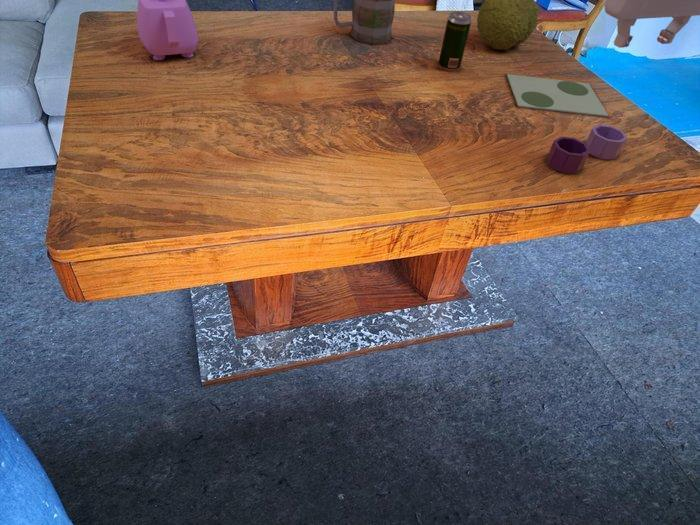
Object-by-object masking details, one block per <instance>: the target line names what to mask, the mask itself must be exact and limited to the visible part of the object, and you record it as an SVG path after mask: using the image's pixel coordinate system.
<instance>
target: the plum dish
mask: <svg viewBox="0 0 700 525" xmlns="http://www.w3.org/2000/svg"><path fill="white" fill-rule="evenodd" d="M589 155H590V150H589V148H588V146H587V144H586V142H584V141H581V140H580V139H578V138H576V137H569V136H559V137H557V138H555V139H553V141H552V144H551V147H550V148H549V151H548V153H547V159H546V162H547V164H548V166H549V167H551V168H552V169H553V170H555V171H558V172H560V173H563V174H569V175H570V174H571V175H573V174H577V173H579V172H580V171H581V169H582V168H583V167H584V165H585V163H586V161H587V159H588V157H589Z"/></svg>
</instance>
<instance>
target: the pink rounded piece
mask: <svg viewBox="0 0 700 525" xmlns="http://www.w3.org/2000/svg"><path fill="white" fill-rule="evenodd" d="M192 13H193V12H192V11H191V9H190V6H189V4H188V3H187V0H138V2H137V12H136V28H137V34H138V38H139V40H140V42H141V44H142V45H143V47H144V48H145V49H146V50H147V52H149V54H151V55H153V56H152V57H153V58H152V59H153V60H155V61H162V60H163V61H164V59H166V56H171V55H172V56H173V55H181V57H183V58H193V57H194V53H193V52H195V51H196V50H197V47H198V43H199V35H198V34H199V33H198V30H197V26H196V21H195V19H194V15H193V14H192Z"/></svg>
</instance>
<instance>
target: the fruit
mask: <svg viewBox="0 0 700 525" xmlns="http://www.w3.org/2000/svg"><path fill="white" fill-rule="evenodd" d="M539 11H540V9H539V7H538V5H537V2H535V0H484V1H483V3H481V5H480V8H479V10H478V14H477V18H476V22H477V25H476V29H477V31H478V33H479V36H480V38H481V40H482V41H483V42H484V43H485V44H486V45H487V46H489V47H490V48H492V49H493V50H501V51H503V50H504V51H506V50H507V51H508V50H509V49H511V48H512V47H514V46H515V47H516V46H519V45H521V44H523V43H525V42H526V41H527V40H528V38H530V37H531V35H532V33H533V32H534V31H535V29H536V27H537V24H538V23H537V22H538V20H539Z"/></svg>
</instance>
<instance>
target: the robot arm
mask: <svg viewBox="0 0 700 525" xmlns="http://www.w3.org/2000/svg"><path fill="white" fill-rule="evenodd" d="M604 12H605V14H607V15H609V17H612V18H614V19H616V25H617V26H616V28H617V29H616V30H617V34H616V37H615V38H614V40H613V45H614V46H615V47H618V48H619V49H621V48H628V47H629V46H630V44H631V42H632V40H633V38H634V36H633V35H631V28H632V27H634V26H635V25H636V22H637V20H643V19H644V20H645V19H660V18H661V19H663V18H672V20H671V21H670V23H669V24H667V26H666V27H665V28H664V29H661V30H660V31H659V35H658V36H657V38H656V41H657V42H658V43H660V44H662V45H669V44H672V43H673V40H674V39H675V38H676V35H677V34H678V33H679V32H680V31H681V30H682V29H683V28H684V27H686V25H687V24H688V23H689V21H690V20H691V18H692V17H694V16H700V0H605V2H604Z"/></svg>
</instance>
